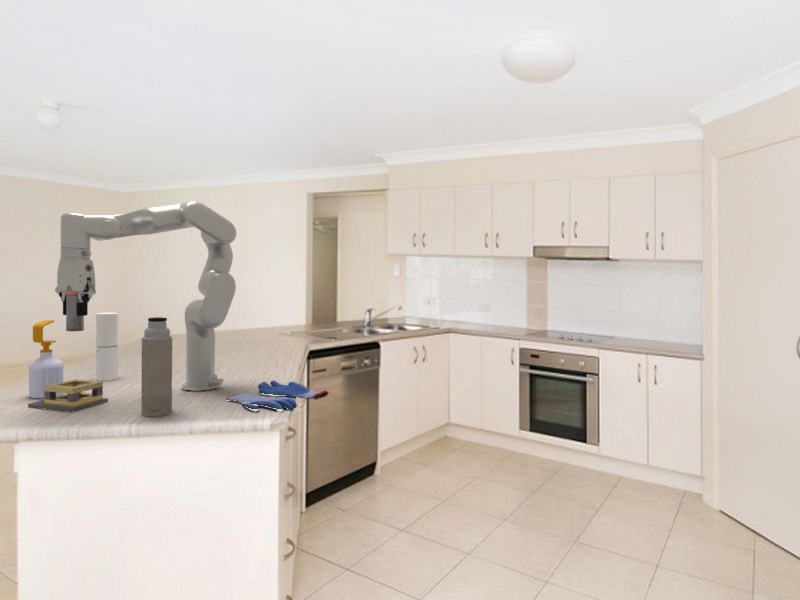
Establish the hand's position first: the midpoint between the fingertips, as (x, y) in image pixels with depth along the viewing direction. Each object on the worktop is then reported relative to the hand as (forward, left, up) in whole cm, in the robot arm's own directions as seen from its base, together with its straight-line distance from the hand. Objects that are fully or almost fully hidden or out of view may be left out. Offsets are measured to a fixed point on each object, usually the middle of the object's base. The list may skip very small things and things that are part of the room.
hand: (75, 314), depth 150 cm
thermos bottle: (-29, -1, -28) cm, 40 cm away
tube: (0, 0, -5) cm, 5 cm away
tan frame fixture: (+2, 0, -28) cm, 28 cm away
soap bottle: (+18, -6, -28) cm, 34 cm away
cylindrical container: (+21, -33, -28) cm, 48 cm away
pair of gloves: (-53, -28, -28) cm, 66 cm away
